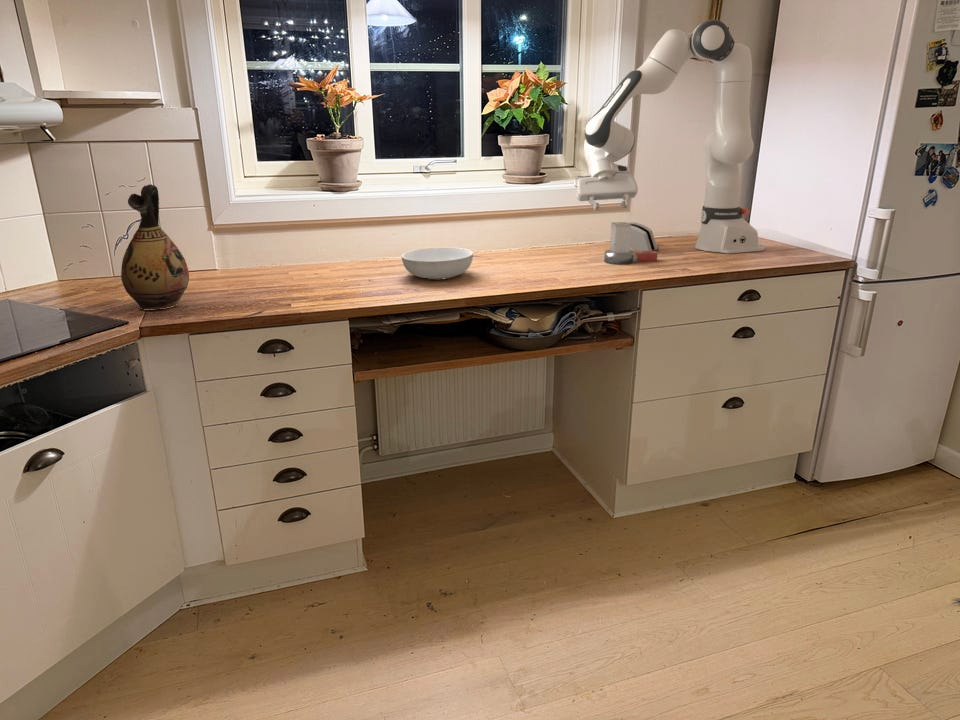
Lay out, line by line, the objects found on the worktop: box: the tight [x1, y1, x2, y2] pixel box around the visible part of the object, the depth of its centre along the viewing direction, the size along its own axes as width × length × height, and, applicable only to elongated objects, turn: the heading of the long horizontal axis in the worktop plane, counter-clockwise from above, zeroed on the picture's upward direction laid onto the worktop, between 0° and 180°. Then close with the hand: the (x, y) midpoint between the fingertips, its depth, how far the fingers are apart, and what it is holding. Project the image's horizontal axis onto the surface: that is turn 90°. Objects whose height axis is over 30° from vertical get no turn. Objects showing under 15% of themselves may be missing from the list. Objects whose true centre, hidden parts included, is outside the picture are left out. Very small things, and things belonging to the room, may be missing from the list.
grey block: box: [609, 221, 631, 254], centre depth 213 cm, size 5×5×9 cm
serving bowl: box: [401, 246, 474, 280], centre depth 199 cm, size 21×21×7 cm
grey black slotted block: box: [628, 221, 661, 252], centre depth 234 cm, size 17×5×10 cm, turn 30°
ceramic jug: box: [120, 183, 190, 309], centre depth 169 cm, size 17×15×30 cm
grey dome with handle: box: [603, 249, 659, 265], centre depth 215 cm, size 16×9×8 cm, turn 97°
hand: (610, 208), depth 224 cm, fingers open, 8 cm apart
